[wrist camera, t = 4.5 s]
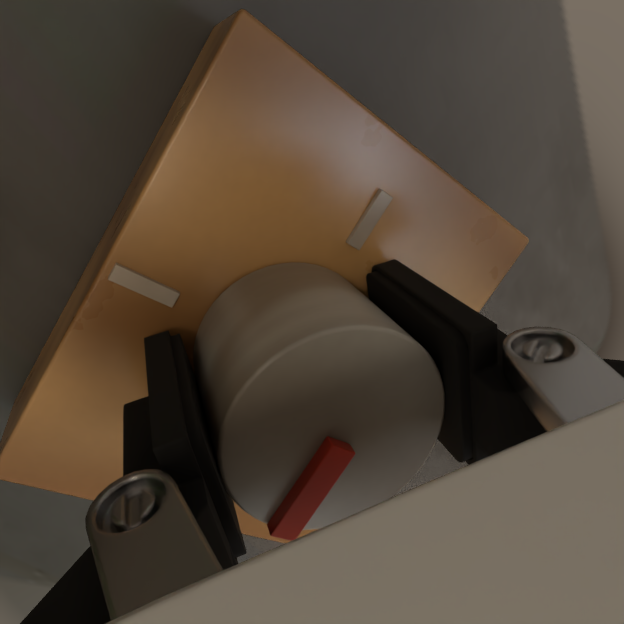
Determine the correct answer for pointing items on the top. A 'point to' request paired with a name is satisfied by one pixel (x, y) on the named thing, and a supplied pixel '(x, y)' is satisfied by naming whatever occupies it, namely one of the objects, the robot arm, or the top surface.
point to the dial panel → (238, 241)
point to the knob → (312, 397)
